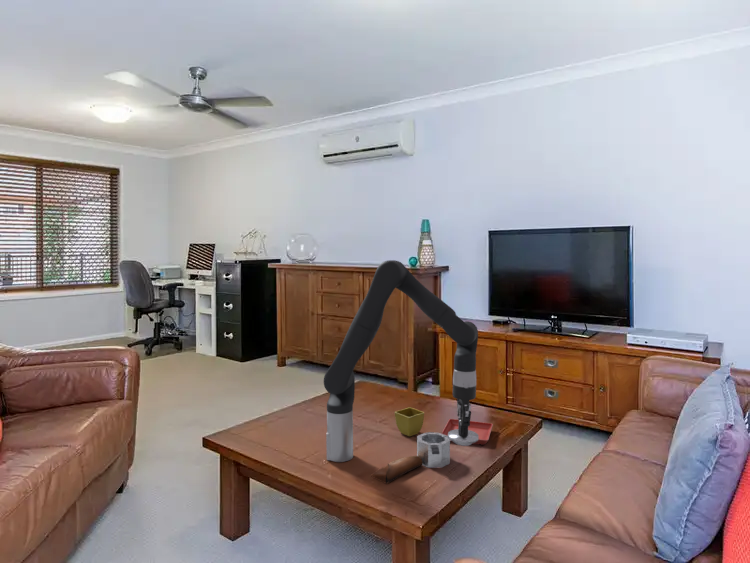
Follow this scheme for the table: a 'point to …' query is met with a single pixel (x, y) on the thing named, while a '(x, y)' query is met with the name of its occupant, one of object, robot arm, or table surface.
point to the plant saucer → (478, 427)
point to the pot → (433, 449)
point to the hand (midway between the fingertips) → (463, 434)
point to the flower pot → (409, 421)
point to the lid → (463, 441)
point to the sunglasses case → (397, 468)
